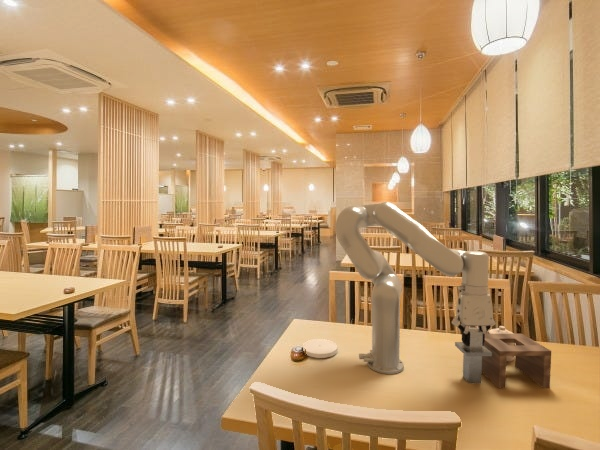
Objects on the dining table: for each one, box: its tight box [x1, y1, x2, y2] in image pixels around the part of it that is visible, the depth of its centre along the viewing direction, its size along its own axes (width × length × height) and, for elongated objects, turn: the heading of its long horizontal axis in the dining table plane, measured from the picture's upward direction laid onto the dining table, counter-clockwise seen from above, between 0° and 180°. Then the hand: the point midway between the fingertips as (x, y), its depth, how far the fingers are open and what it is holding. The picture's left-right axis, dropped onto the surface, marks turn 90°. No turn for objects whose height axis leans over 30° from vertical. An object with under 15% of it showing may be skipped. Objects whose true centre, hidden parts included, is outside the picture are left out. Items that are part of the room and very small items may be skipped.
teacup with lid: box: [487, 325, 516, 363], centre depth 128 cm, size 12×9×12 cm
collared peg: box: [454, 327, 492, 384], centre depth 110 cm, size 8×8×17 cm
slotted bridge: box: [481, 333, 552, 389], centre depth 112 cm, size 16×14×12 cm
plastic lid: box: [301, 338, 339, 359], centre depth 133 cm, size 14×14×2 cm
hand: (472, 343), depth 110 cm, fingers closed on collared peg, 4 cm apart
